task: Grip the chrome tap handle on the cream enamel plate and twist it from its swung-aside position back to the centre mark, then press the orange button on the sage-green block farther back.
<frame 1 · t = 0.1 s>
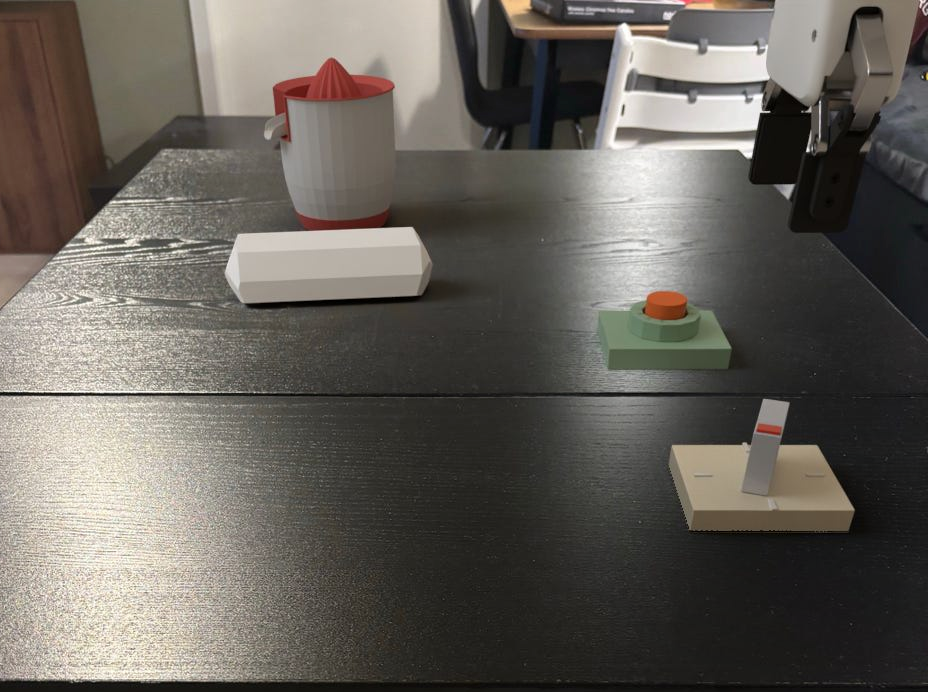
hand: (793, 205, 56), 23 cm above the table, tool pointing down, fingers open, 9 cm apart
button: (665, 306, 94), point 4 cm above the table, slide at 0.1 cm
button block: (659, 349, 97), on the table
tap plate: (753, 497, 75), on the table
crystal: (331, 295, 110), on the table
tap handle: (765, 445, 72), point 5 cm above the table, hinge at 70.0°
citrus juicer: (338, 227, 130), on the table
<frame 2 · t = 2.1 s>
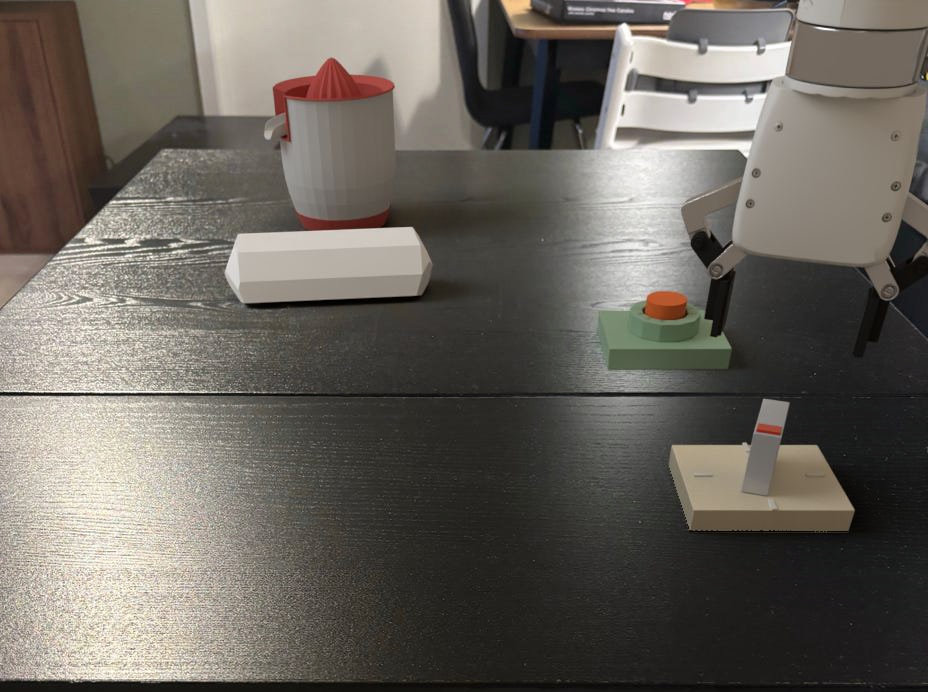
hand: (786, 340, 66), 13 cm above the table, tool pointing down, fingers open, 9 cm apart
nothing on the table moved.
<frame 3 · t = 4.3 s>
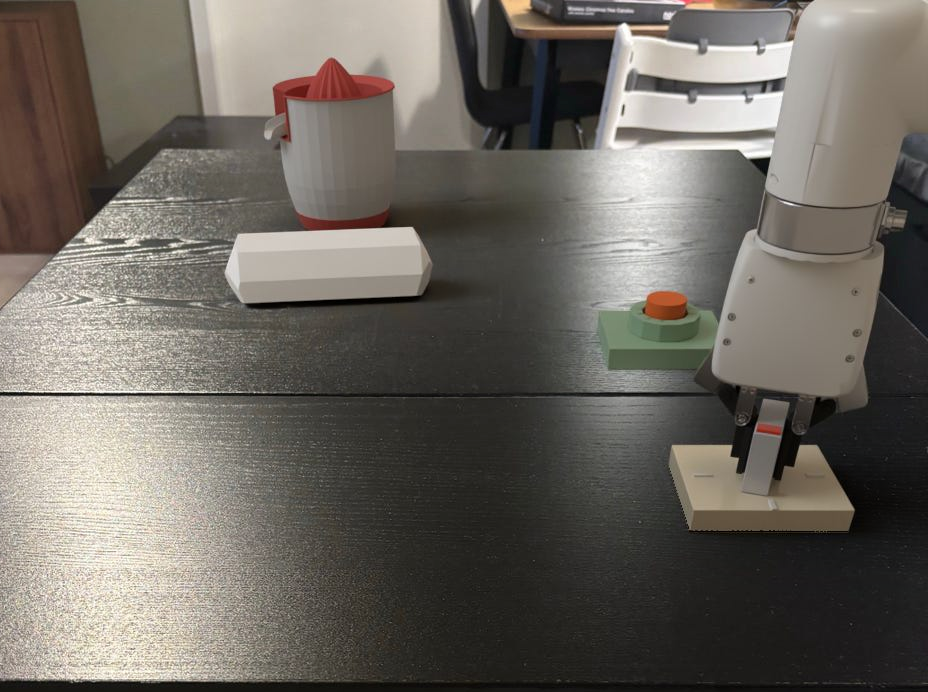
hand: (760, 467, 73), 3 cm above the table, tool pointing down, fingers closed on tap handle, 2 cm apart
tap handle: (765, 445, 72), point 5 cm above the table, hinge at 70.0°, touching gripper
everything else where it was.
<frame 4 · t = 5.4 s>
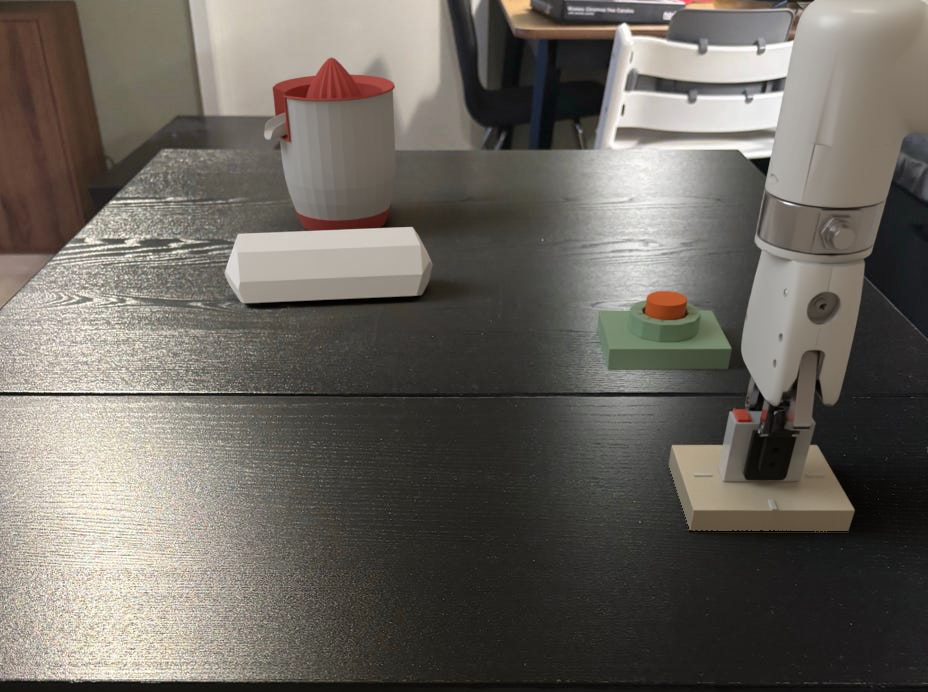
hand: (759, 467, 73), 3 cm above the table, tool pointing down, fingers closed on tap handle, 2 cm apart
tap handle: (765, 445, 72), point 5 cm above the table, hinge at 0.5°, touching gripper
everything else where it was.
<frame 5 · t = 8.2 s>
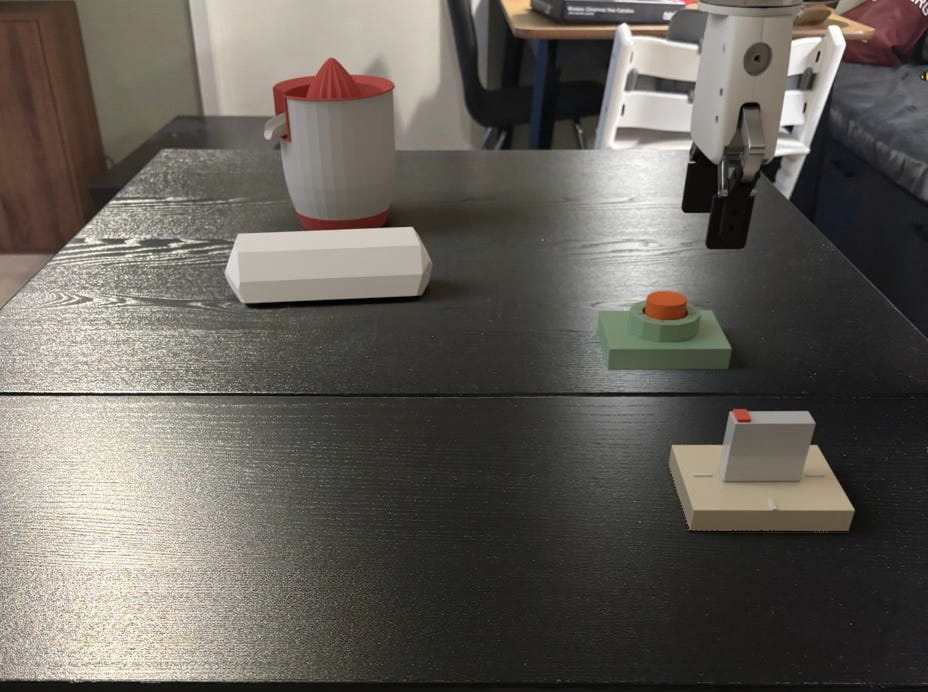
hand: (711, 229, 80), 15 cm above the table, tool pointing down, fingers open, 9 cm apart
tap handle: (765, 445, 72), point 5 cm above the table, hinge at 0.4°
everything else where it was.
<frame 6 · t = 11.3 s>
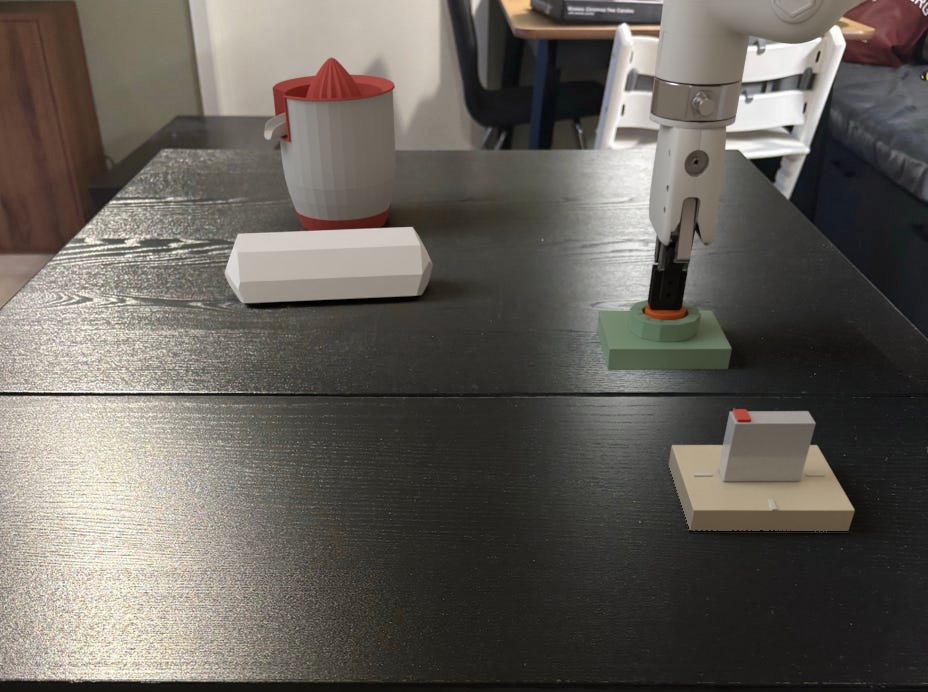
hand: (664, 307, 94), 4 cm above the table, tool pointing down, fingers closed
button: (664, 316, 95), point 3 cm above the table, slide at -0.9 cm, touching gripper
everything else where it was.
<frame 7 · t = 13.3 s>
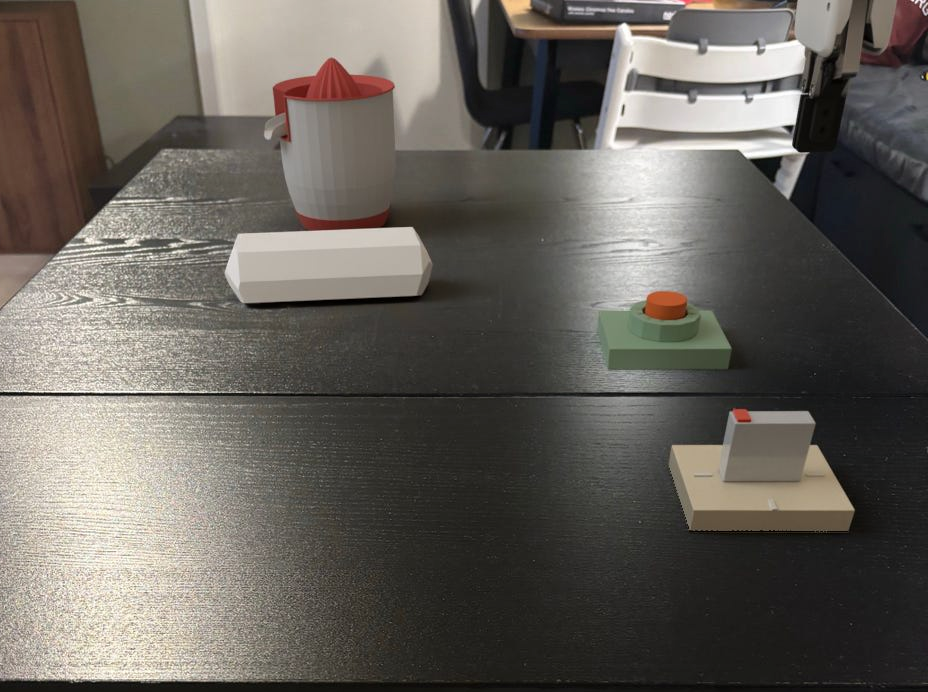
hand: (813, 149, 78), 20 cm above the table, tool pointing down, fingers closed
button: (665, 306, 94), point 4 cm above the table, slide at 0.1 cm
everything else where it was.
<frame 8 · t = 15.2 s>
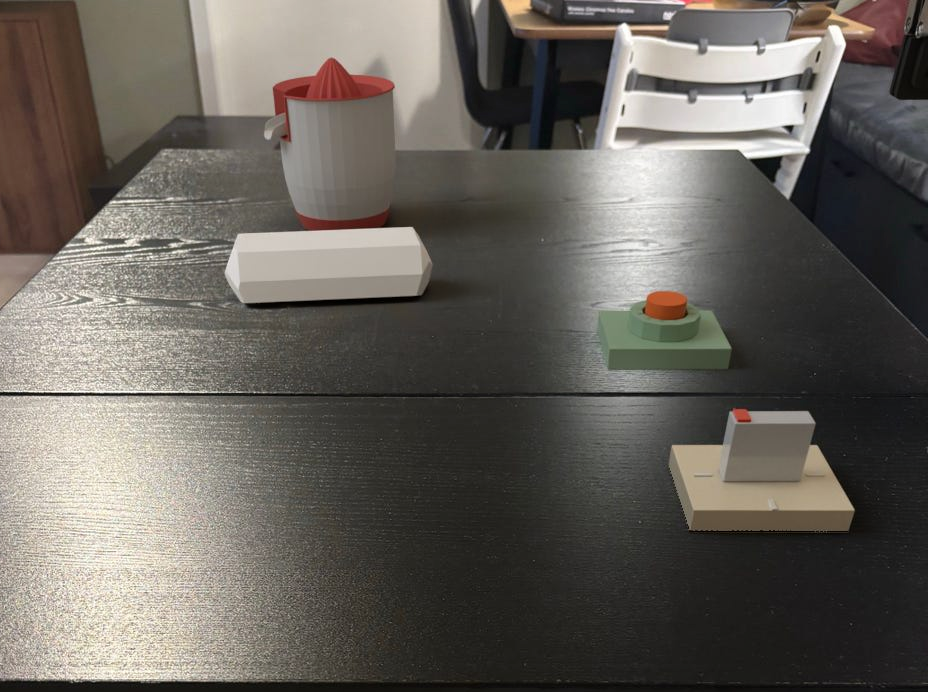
hand: (912, 97, 71), 25 cm above the table, tool pointing down, fingers closed
nothing on the table moved.
at the end: tap handle at +0° (first picture: +70°); button pushed in 1.1 cm at the most during the clip, back to where it started at the end; button slide at 0.1 cm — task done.
